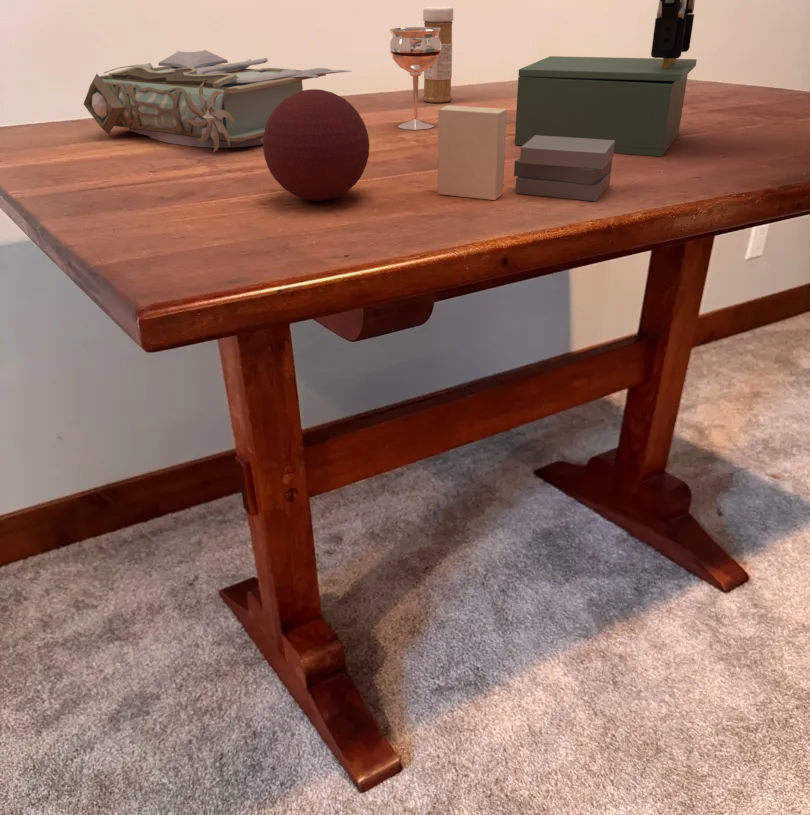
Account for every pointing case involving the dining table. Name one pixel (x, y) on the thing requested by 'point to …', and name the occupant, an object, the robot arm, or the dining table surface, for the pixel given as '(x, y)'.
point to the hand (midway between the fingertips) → (670, 52)
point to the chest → (601, 111)
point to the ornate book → (195, 99)
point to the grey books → (564, 167)
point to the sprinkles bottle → (441, 70)
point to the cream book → (471, 151)
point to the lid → (610, 68)
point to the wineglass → (415, 59)
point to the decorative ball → (316, 145)
